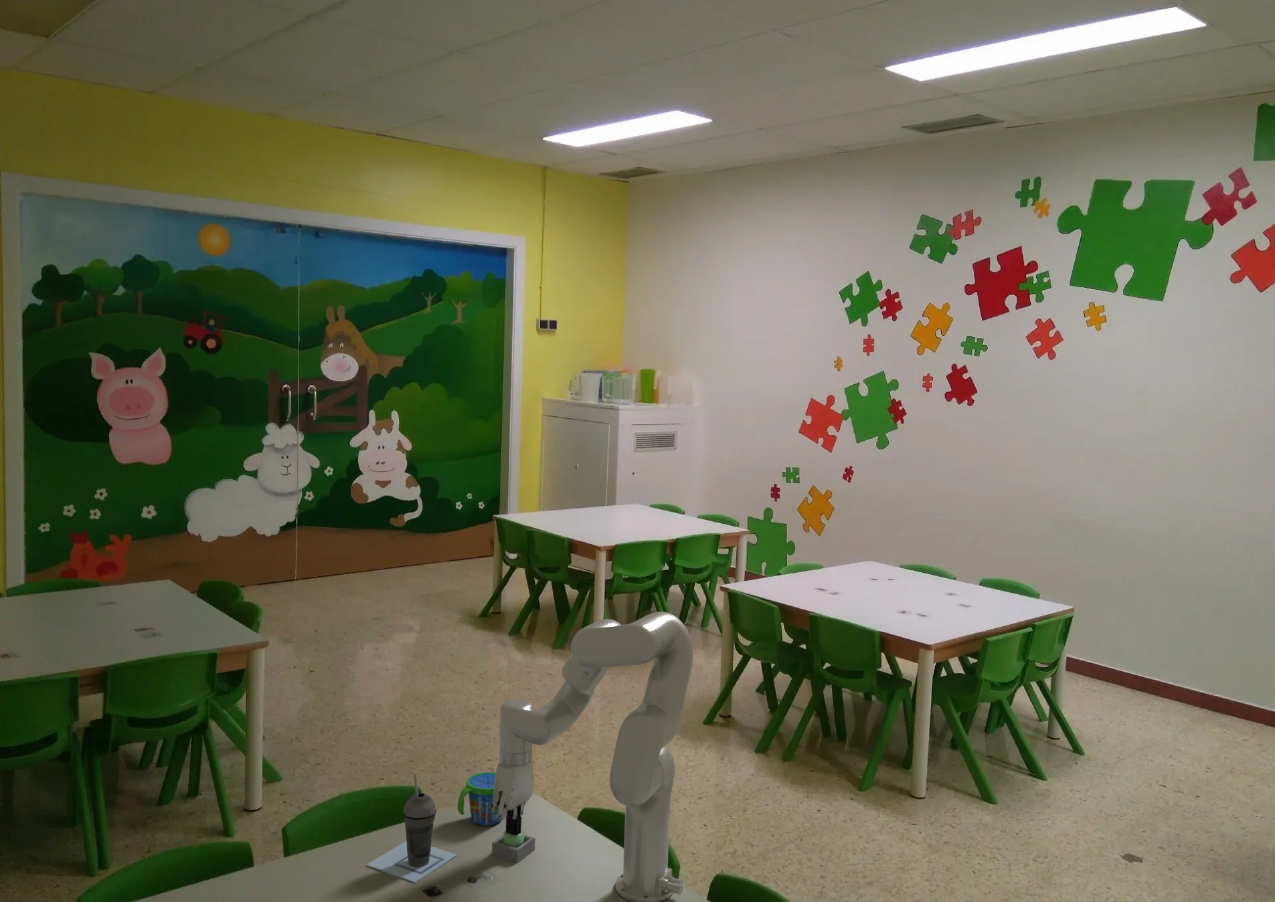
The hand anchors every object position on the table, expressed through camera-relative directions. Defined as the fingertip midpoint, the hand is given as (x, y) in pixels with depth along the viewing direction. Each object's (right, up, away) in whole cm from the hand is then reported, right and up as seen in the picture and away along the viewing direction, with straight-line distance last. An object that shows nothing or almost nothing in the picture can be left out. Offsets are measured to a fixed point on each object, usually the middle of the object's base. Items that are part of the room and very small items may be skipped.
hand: (513, 832), depth 225 cm
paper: (-22, -4, -5) cm, 23 cm away
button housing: (0, -5, 0) cm, 5 cm away
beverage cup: (-20, -4, -6) cm, 22 cm away
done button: (0, -4, 0) cm, 4 cm away
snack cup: (-8, -3, +16) cm, 19 cm away
